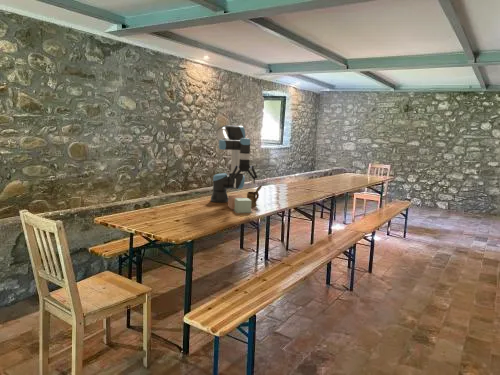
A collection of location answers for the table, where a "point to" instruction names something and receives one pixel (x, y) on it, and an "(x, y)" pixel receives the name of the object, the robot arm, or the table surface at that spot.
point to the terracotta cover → (232, 201)
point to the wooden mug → (253, 196)
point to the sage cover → (242, 205)
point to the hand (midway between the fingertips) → (243, 187)
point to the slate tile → (237, 212)
